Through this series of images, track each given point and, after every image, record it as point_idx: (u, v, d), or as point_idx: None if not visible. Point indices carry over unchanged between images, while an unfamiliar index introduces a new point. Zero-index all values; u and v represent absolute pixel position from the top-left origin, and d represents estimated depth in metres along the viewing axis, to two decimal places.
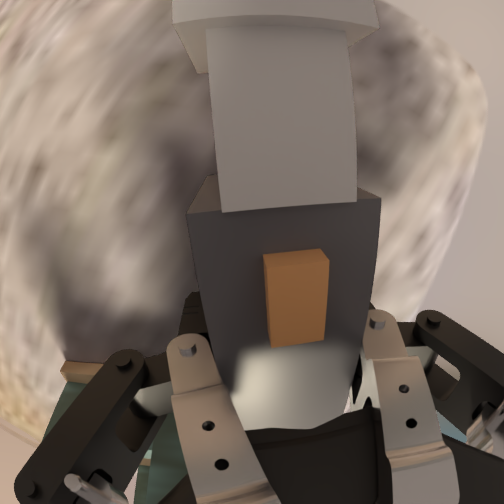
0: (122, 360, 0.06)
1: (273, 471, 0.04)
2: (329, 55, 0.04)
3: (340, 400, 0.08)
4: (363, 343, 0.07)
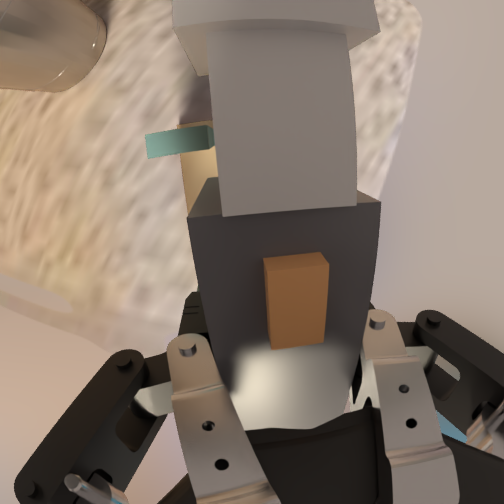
0: (122, 360, 0.06)
1: (273, 471, 0.04)
2: (329, 59, 0.04)
3: (340, 401, 0.08)
4: (363, 343, 0.07)
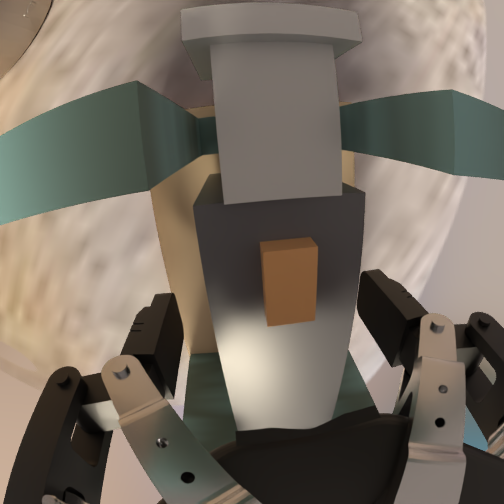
0: (61, 377, 0.06)
1: (273, 471, 0.04)
2: (317, 67, 0.05)
3: (334, 384, 0.09)
4: (431, 347, 0.06)
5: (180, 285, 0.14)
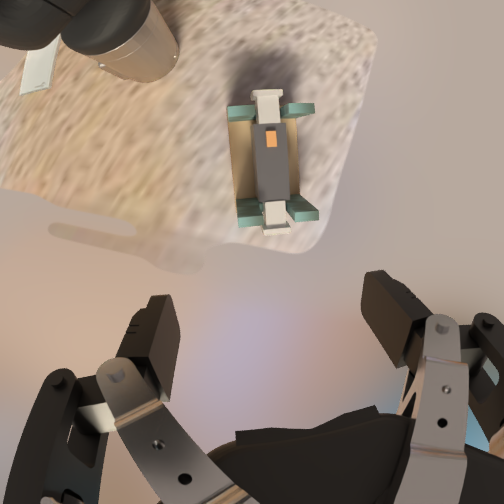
0: (57, 380, 0.05)
1: (273, 471, 0.04)
2: (275, 100, 0.30)
3: (287, 174, 0.34)
4: (436, 348, 0.06)
5: (235, 166, 0.39)
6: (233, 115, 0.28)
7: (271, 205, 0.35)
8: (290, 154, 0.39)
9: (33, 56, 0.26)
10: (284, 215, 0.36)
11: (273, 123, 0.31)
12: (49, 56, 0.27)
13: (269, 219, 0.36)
